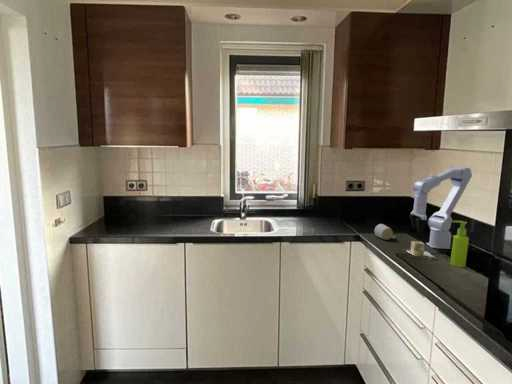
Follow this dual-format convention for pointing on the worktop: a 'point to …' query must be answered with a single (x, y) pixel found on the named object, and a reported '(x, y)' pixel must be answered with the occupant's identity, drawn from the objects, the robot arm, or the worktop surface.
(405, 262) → the worktop surface
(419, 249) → the maple block
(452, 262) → the soap dispenser
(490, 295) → the worktop surface
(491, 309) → the worktop surface
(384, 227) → the ceramic mug
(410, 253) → the blue-grey mat
